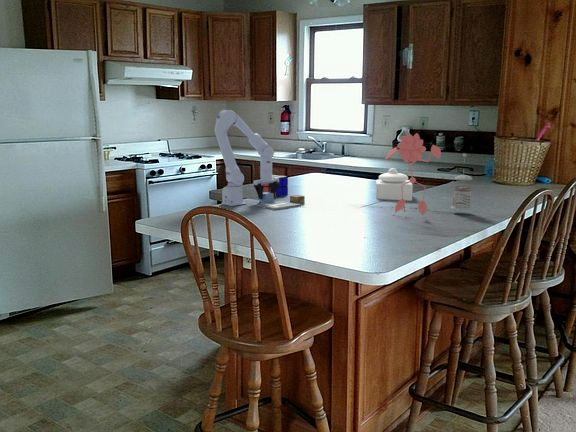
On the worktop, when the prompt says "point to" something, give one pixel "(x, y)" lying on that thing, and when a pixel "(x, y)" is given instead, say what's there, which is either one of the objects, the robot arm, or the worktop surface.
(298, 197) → the walnut block
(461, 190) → the french press
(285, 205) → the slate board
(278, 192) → the puzzle cube
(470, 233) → the worktop surface
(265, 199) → the blue cube
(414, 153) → the figurine
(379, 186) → the white lidded canister
